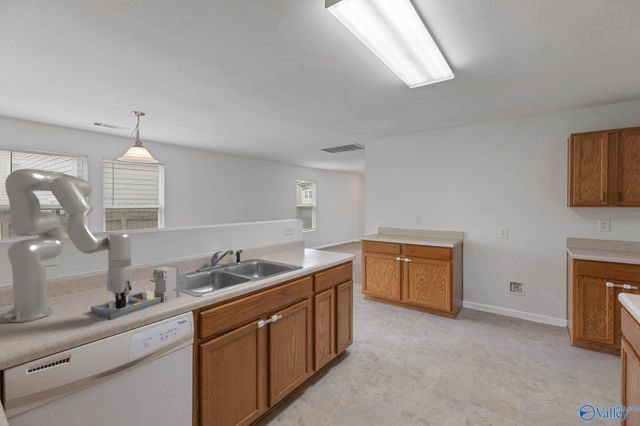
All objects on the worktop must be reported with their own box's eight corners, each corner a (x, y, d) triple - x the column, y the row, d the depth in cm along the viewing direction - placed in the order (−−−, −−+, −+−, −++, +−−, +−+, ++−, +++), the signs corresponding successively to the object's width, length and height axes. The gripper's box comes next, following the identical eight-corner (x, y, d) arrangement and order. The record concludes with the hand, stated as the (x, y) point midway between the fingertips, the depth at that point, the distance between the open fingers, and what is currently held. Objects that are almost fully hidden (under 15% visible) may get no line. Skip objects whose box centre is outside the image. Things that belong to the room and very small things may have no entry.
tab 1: (113, 313, 115) (112, 301, 115) (108, 312, 116) (108, 300, 116) (122, 310, 118) (121, 298, 118) (118, 309, 119) (117, 297, 119)
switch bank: (111, 319, 112) (110, 312, 112) (91, 312, 119) (90, 306, 119) (160, 302, 131) (160, 296, 131) (141, 297, 138) (141, 291, 138)
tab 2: (147, 302, 127) (146, 291, 127) (142, 301, 129) (142, 290, 128) (154, 300, 130) (154, 289, 130) (150, 299, 132) (150, 288, 132)
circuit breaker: (189, 293, 145) (189, 264, 144) (164, 302, 132) (163, 270, 131) (179, 291, 148) (179, 263, 147) (153, 300, 135) (153, 269, 134)
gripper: (99, 263, 114) (100, 307, 115) (120, 267, 108) (121, 314, 108) (119, 259, 121) (120, 301, 122) (140, 263, 114) (141, 308, 115)
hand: (120, 307), depth 115 cm, fingers closed
